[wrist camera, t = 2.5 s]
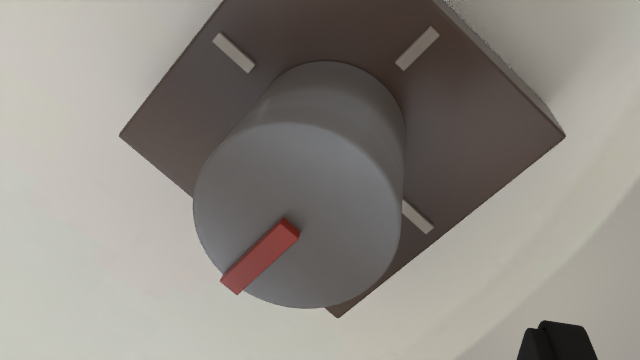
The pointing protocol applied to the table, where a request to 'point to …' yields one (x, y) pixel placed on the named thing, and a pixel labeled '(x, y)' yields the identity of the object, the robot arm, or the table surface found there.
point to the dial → (306, 189)
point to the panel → (388, 68)
